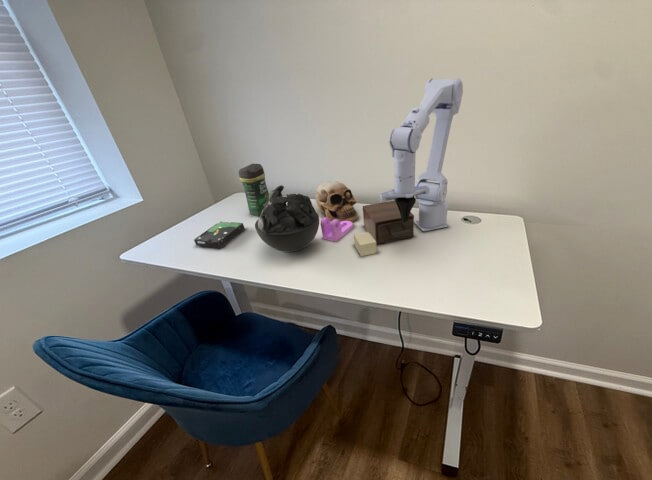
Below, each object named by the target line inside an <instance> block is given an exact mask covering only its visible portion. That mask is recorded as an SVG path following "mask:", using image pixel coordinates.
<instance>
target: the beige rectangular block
mask: <svg viewBox="0 0 652 480" xmlns="http://www.w3.org/2000/svg"><path fill="white" fill-rule="evenodd" d="M353 243H354V244H353V245H354V247H355V248H356V251H357V252H358V253H359V255H360V257H365V256H369V255H374V254H377V253H378V247H377V244H376V241H375V240H374V238H373V237H372V236H371V234H370V233H369V232H368V231H365V232H361V233H356V234H353Z"/></svg>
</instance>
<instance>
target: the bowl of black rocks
mask: <svg viewBox="0 0 652 480" xmlns="http://www.w3.org/2000/svg"><path fill="white" fill-rule="evenodd" d="M284 188H285V186H284V185H279V186H277V187H276V188H275V189H273V190H271V191H270V192H269V198H268V199H267V201H266V203H265V206H264V209H263V210H262V213H261V215H259V217H258V219H257V220H256V221H255V223H254V229H255V231H256V233H257V235H258V237H259V238H260V239H261V240H262V241H263V243H265V244H266V245H267V246H269V247H270V248H272V249H274V250H277V251H280V252H287V253H293V252H296V251H299V250H302V249H304V248H306V247H307V246H309V245H310V244H311V243H312V242H313V240H314V239H315V237H316V236H317V234H318V231H319V227H320V215H319V213H318V212H317V211H316V209H315V207H314V205H313V203H312V200H311V198H310V197H309V196H308V195H303V194H301V193H298V194H297V193H289V194H285V196H284V195H283V194H282V192H283V191H284Z"/></svg>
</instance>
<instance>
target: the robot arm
mask: <svg viewBox="0 0 652 480" xmlns="http://www.w3.org/2000/svg"><path fill="white" fill-rule="evenodd" d="M463 93H464V87H463V81H462V79H461V78H460V77H458V78H429V79H428V80H427V82H426V84H425V87H424V96H423V98H422V100H421V101H420V104H418V105H419V106H416V107H413V108H412V109H411V110H410V112H409V113H408V115H407V116H406V118H405V119H404V120H403V122H402V123H401V124H400V126H396V127H395V128H393V129H392V130H391V133H390V137H389V141H388V142H389V143H388V145H389V147H390V151H391V156H392V158H393V159H394V160H393V166H394V167H393V168H394V169H393V170H394V171H393V172H394V189H391V190H387V191H385V192H381V193H379V201H380V203H383V202H389V201H394V200H395V202H396V204H397V206H398V208H399V211H400V215H401V220H402V221H403V222H407V221H408V218H409V215H410V212H411V213H412V209H413V207H414V205H415V204H416V201H417V203H418V220H414V225H416V226H417V227H418V228H419V230H420V231H421V232H429V231H433V230H434V231H435V230H438V229H439V230H440V229H445V228H448V225H447V221H448V208H449V207H448V203H447V201H446V198H447V193H448V183H449V182H448V181H449V180H448V179H447V177H446V175H444V174H443V172H442V170H443V165H444V161H445V156H446V151H447V146H448V141H449V137H450V131H451V126H452V122H453V119H454V116H455V115H457V114H458V113H459V111H460V108H461V103H462V99H463ZM431 114H433V115H435V123H434V128H433V132H432V139H431V144H430V150H429V153H428V154H429V155H428V159H427V164H426V170H425V171H424V172H422V173H420V175H417V176H418V177H417V180H416V152H417V151H418V149H419V147H420V144H421V140H422V136H423V135H422V134H423V133H424V131H425V130H426V128H427V127H428V126H429V124H430V115H431Z"/></svg>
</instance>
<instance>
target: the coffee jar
mask: <svg viewBox="0 0 652 480" xmlns="http://www.w3.org/2000/svg"><path fill="white" fill-rule="evenodd" d="M237 172H238V176H239V180H240V182H241V183H242V186H243V190H244V194H245V198H246V202H247V208H248V211H249V214H250V215H252V216H254V217H255V216H256V217H260V215H261V213H262V210H263V209H264V206H265V203H266V201H267V199H268V198H269V194H270V192H269V190H268V187H267V183H266V174H265V170H264V166H263V165H262V164H260V163H251V164H248V165H246V166H244V167H242V168H239V169H238V170H237Z"/></svg>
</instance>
